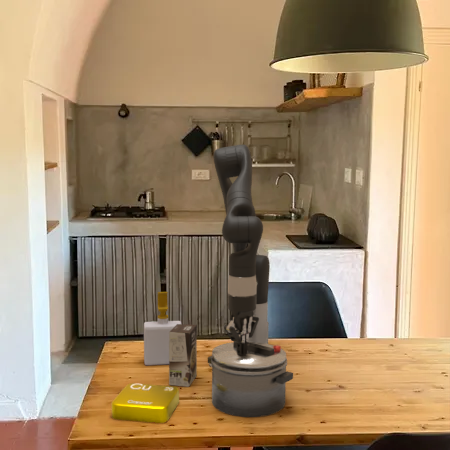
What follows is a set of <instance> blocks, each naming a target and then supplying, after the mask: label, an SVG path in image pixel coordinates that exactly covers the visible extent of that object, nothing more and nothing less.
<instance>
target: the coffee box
mask: <svg viewBox="0 0 450 450" xmlns="http://www.w3.org/2000/svg"><path fill="white" fill-rule="evenodd" d="M197 328H198V327H197V324H188V323H187V324H182V323H181V324H177V325H176V326H175V327H174V328H173V329H172V330H171V331H170V332H169V364H168V386H175V387H178V386H179V387H186V388H188V387H190V386H191V385H192V383H193V381H194V380H195V379H196V377H197V372H198V371H197V366H198V365H197V364H198V363H197V361H198V359H197V357H198V356H197V355H198V352H197V348H198V347H197V346H198V344H197V343H198V342H197V341H198V339H197V337H198V336H197V334H198V333H197Z"/></svg>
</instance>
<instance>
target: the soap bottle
mask: <svg viewBox="0 0 450 450" xmlns="http://www.w3.org/2000/svg"><path fill="white" fill-rule="evenodd" d="M168 293H169V292H168V291H157V310H158V312H159V313H160V314H158V315H157V321H145V322H144V323H143V358H144V360H143V361H144V365H145V366H156V365H157V366H158V365H159V366H161V365H169V332H170V331H171V330H172V329H173V328H174V327H175V326H176V325H177V324H182V321H181V320H169V315H168V314H166V313H167V312H168V310H169V306H168V304H169V303H168Z"/></svg>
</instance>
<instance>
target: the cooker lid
mask: <svg viewBox="0 0 450 450" xmlns="http://www.w3.org/2000/svg"><path fill="white" fill-rule="evenodd" d="M281 347H282V346H281V345H278V344H277V345H273V344H269V343H268V344H265V343H258V342H247V355H245V356H239V355H237V343H236V342H235V341H231V342H227V343H222V344H218V345H217V346H216V347H214V348H213V349H212V353H211V354H212V355H211V356H212V357H213V359H214V360H215V361H217V362H218V363H221V364H223V365H226V366H230V367H235V368H244V369H264V368H271V367H275V366H278V365H281V364H283V363H284V362H285V361H286V358H287V353H286V351H285V350H284V349H282V348H281Z"/></svg>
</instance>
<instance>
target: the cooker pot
mask: <svg viewBox="0 0 450 450" xmlns="http://www.w3.org/2000/svg"><path fill="white" fill-rule="evenodd" d="M207 364H208V365H209V364H212V367H211V404H212V406H213V407H214V408H215V409H217V410H218V411H219V412H222V413H224V414H227V415H230V416H234V417H241V418H258V417H259V418H260V417H267V416H271V415H274V414H276V413H279V412H280V411H282V410H283V409H284V407H285V406H286V387H287V386H286V384H287V383H288V382H290V381H292V380H293V379H294V372H291V371H287V365H288V359H287V357H286V361H285V362H284V363H283V364H281V365H278V366H275V367H271V368H264V369H244V368H235V367H230V366H226V365H223V364H221V363H218V362H217V361H215V360H214V359H213V357H212V355H210V356H208V357H207Z"/></svg>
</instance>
